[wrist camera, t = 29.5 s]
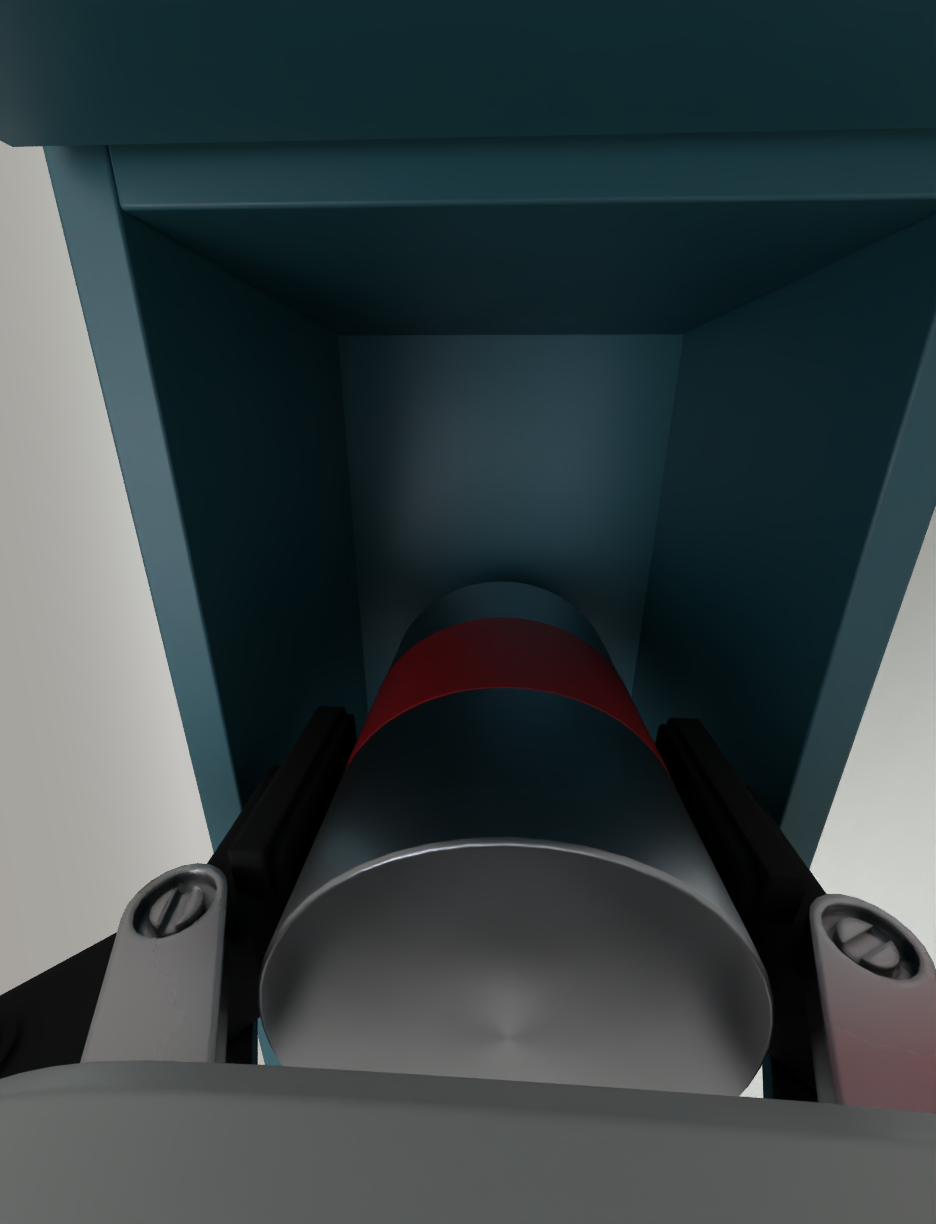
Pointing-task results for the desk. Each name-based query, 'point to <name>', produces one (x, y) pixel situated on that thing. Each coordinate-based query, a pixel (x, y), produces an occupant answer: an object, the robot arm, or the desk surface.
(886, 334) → the cool box
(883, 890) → the desk surface
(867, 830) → the desk surface
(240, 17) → the lid
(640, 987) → the can
